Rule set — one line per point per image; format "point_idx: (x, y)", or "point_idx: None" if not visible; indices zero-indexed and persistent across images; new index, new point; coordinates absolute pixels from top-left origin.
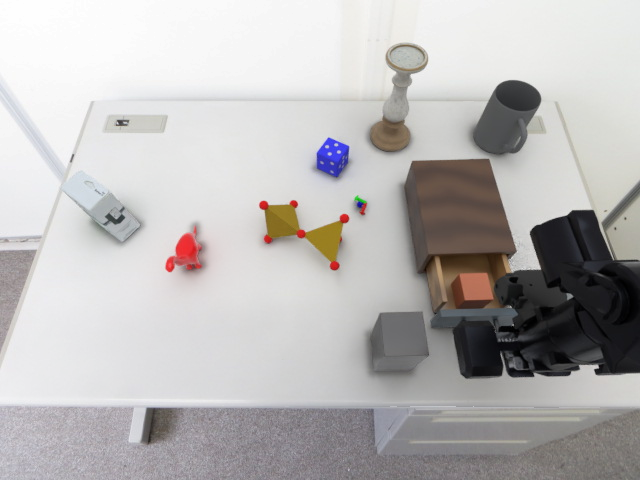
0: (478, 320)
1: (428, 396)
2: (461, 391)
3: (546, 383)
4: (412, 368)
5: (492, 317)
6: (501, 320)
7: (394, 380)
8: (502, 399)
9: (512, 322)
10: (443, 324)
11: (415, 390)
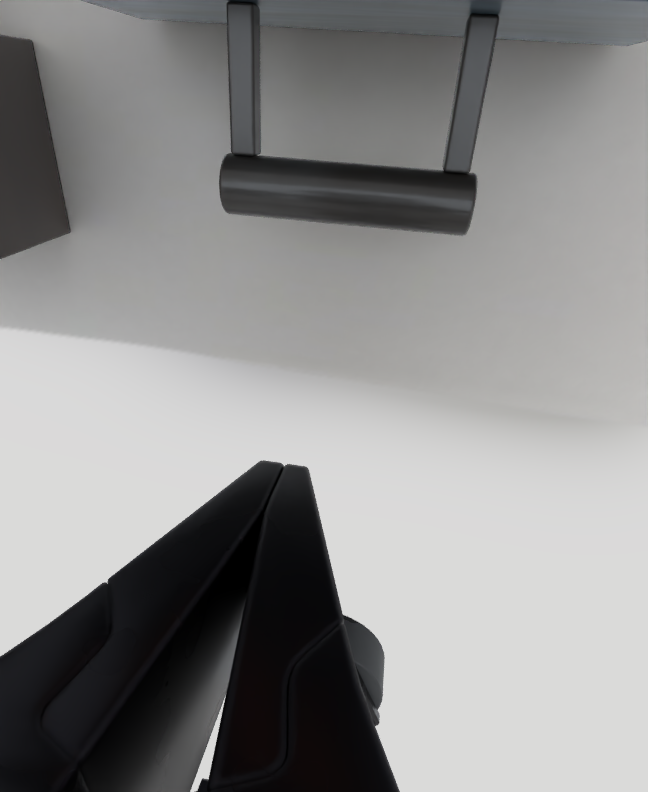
0: (356, 10)
1: (141, 335)
2: (265, 337)
3: (631, 359)
4: (40, 243)
5: (436, 2)
6: (539, 22)
7: (14, 263)
8: (414, 384)
9: (633, 36)
10: (165, 11)
11: (94, 309)
